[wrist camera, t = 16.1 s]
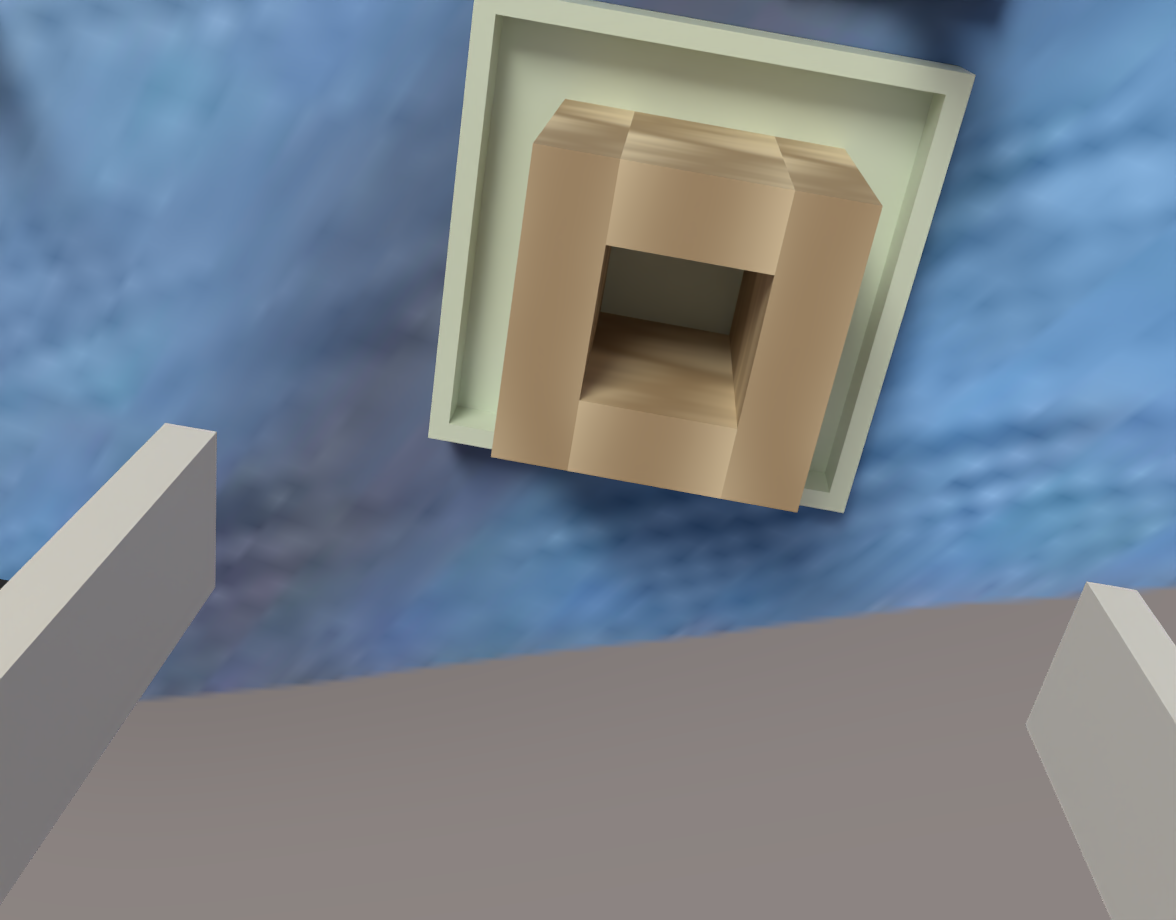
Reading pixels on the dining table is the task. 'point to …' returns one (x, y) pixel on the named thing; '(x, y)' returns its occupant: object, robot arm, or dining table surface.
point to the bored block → (668, 352)
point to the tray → (705, 95)
